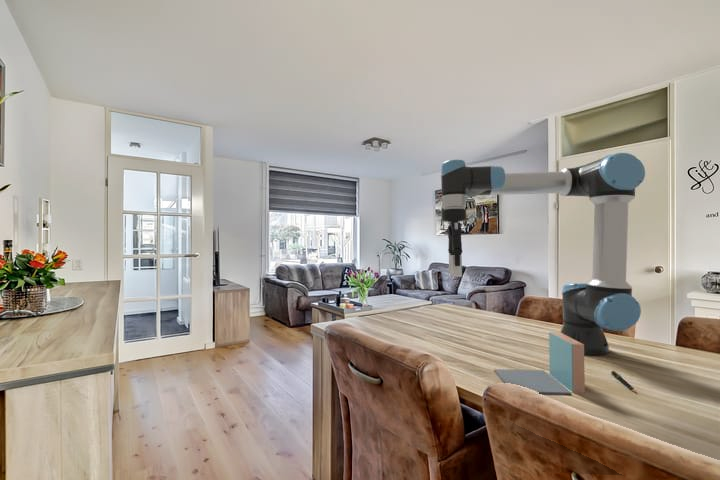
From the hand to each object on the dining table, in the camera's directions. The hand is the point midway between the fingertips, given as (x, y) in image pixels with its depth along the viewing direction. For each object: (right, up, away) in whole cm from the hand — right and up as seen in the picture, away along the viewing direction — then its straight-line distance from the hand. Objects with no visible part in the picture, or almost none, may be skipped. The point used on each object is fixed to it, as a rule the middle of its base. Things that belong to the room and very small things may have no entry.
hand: (455, 274), depth 111 cm
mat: (+15, -27, -18) cm, 36 cm away
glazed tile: (+24, -27, -19) cm, 41 cm away
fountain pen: (+40, -27, -19) cm, 52 cm away
